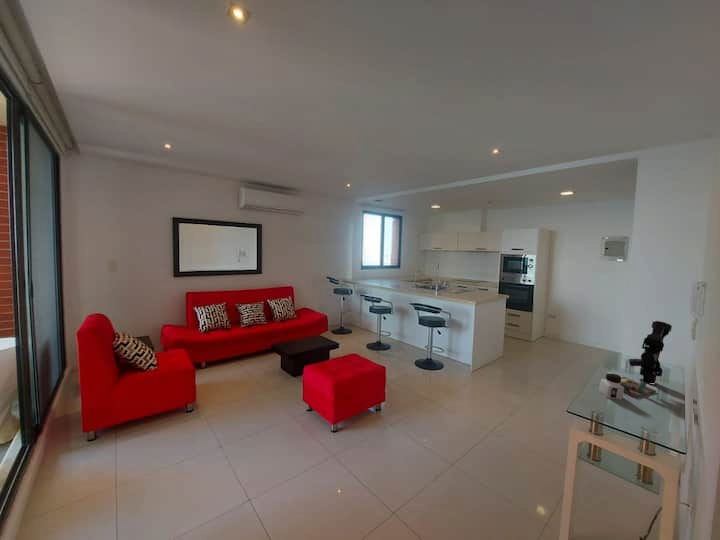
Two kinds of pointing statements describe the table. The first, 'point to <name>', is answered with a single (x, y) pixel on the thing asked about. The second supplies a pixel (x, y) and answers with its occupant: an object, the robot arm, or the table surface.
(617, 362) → the table surface
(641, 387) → the capstan
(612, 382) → the container
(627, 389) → the stand
